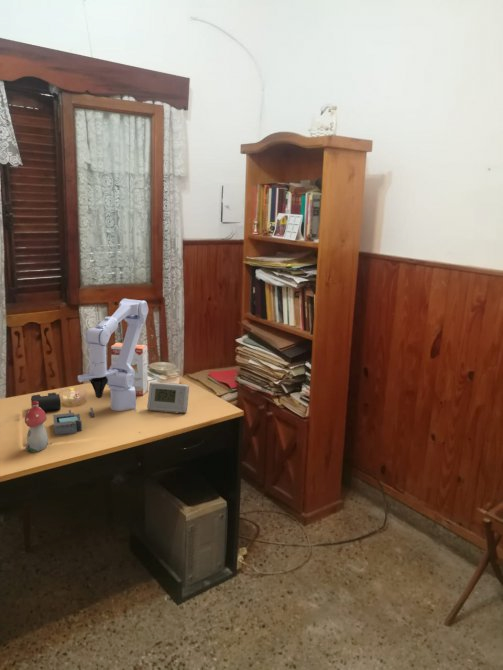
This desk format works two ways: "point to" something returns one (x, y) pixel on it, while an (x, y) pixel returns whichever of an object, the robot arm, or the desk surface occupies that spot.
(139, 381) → the cracker box
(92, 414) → the holster
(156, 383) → the digital clock
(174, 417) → the desk surface
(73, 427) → the port block
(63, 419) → the teal rectangular block
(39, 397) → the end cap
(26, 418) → the decorative ornament
